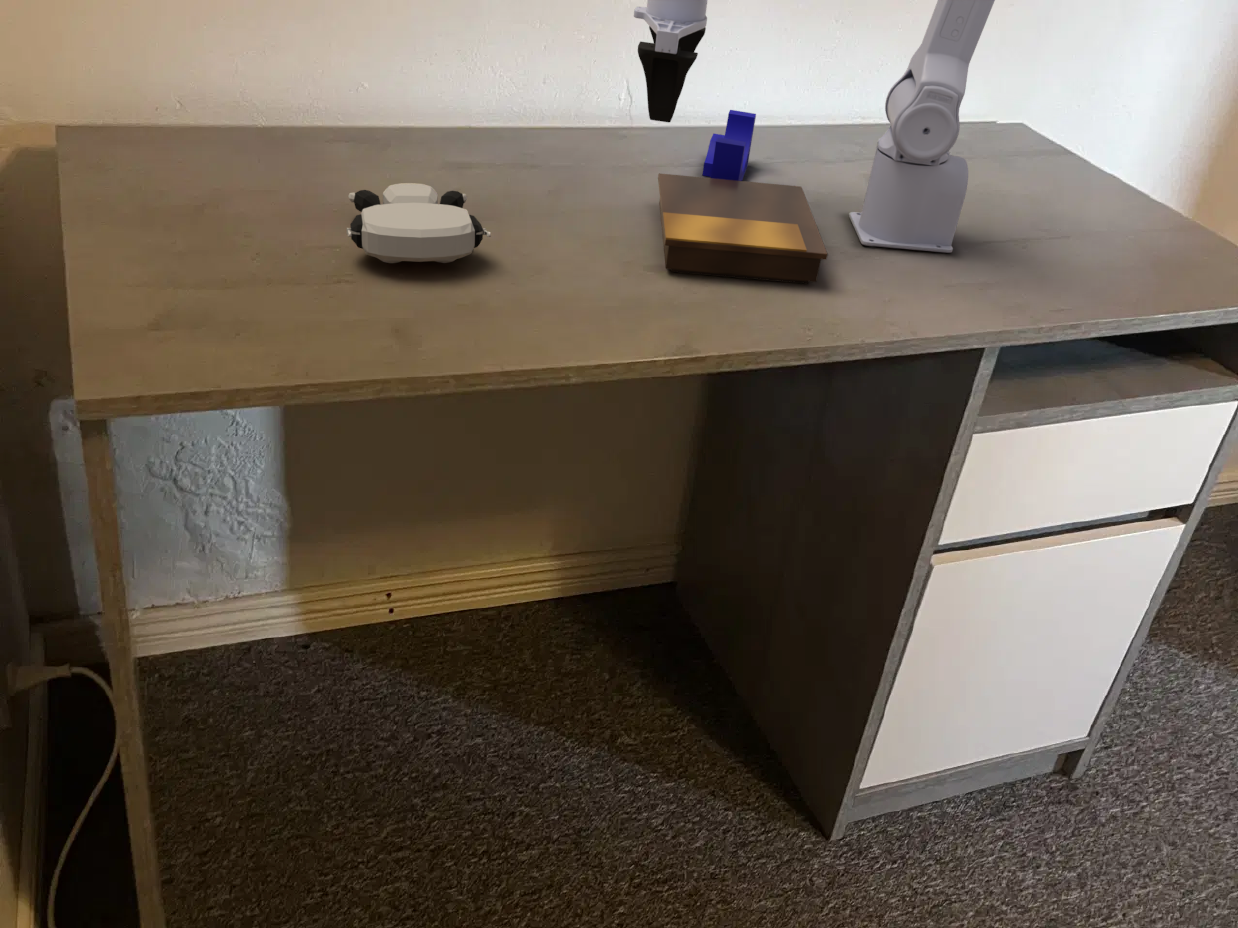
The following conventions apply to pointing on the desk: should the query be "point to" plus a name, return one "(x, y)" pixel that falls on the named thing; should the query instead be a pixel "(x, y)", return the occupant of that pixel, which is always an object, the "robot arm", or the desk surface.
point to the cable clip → (731, 148)
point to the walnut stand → (738, 229)
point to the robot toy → (414, 224)
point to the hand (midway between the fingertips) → (664, 109)
